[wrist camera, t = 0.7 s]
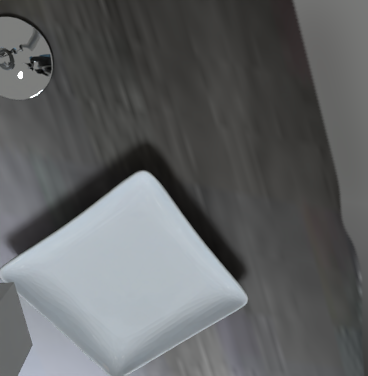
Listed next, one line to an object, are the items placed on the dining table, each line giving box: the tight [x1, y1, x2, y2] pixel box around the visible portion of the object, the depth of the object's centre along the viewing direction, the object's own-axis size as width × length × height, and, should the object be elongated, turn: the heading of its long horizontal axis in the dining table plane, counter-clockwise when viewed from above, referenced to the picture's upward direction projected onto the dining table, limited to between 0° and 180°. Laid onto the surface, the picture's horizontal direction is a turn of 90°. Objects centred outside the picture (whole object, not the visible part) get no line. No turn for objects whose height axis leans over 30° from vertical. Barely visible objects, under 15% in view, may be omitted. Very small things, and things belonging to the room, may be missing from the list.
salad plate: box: [0, 170, 248, 376], centre depth 40 cm, size 21×21×3 cm
